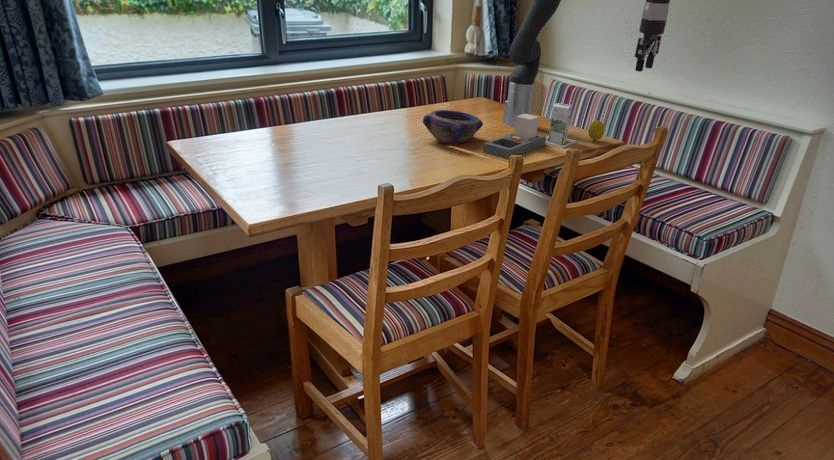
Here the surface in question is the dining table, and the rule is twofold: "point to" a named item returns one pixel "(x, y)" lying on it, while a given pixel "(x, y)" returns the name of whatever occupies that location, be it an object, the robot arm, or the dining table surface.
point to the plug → (526, 126)
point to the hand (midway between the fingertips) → (643, 69)
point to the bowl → (452, 126)
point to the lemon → (596, 130)
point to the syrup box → (559, 123)
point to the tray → (560, 145)
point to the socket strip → (512, 145)
